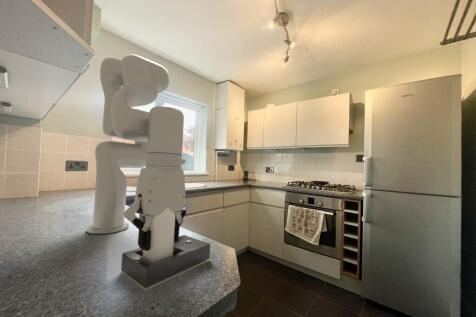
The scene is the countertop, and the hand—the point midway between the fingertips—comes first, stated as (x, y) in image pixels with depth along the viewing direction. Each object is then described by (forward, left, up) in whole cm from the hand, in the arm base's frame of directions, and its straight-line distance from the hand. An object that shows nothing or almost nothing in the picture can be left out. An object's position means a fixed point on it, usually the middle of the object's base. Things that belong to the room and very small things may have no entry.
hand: (159, 243), depth 43 cm
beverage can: (0, 0, -4) cm, 4 cm away
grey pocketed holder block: (0, +2, -6) cm, 6 cm away
